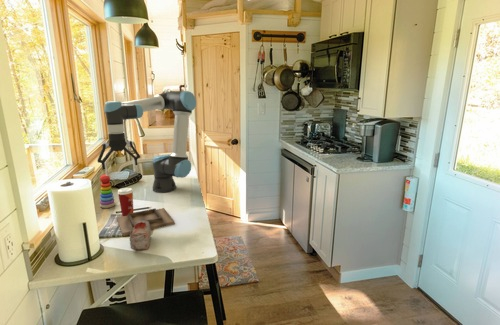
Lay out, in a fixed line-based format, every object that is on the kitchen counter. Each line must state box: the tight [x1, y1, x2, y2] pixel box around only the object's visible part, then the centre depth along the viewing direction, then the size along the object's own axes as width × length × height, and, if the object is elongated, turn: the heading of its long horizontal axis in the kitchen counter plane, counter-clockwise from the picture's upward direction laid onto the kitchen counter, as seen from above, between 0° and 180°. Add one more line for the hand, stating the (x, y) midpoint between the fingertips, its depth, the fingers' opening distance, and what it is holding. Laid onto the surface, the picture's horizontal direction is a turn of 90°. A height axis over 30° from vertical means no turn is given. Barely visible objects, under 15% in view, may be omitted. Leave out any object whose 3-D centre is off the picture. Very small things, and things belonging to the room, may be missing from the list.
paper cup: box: [117, 187, 134, 217], centre depth 159 cm, size 8×8×14 cm
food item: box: [128, 220, 152, 251], centre depth 129 cm, size 14×8×10 cm, turn 15°
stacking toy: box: [99, 173, 116, 209], centre depth 171 cm, size 8×8×19 cm
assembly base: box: [116, 207, 176, 237], centre depth 151 cm, size 24×20×4 cm
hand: (121, 173), depth 156 cm, fingers open, 13 cm apart
